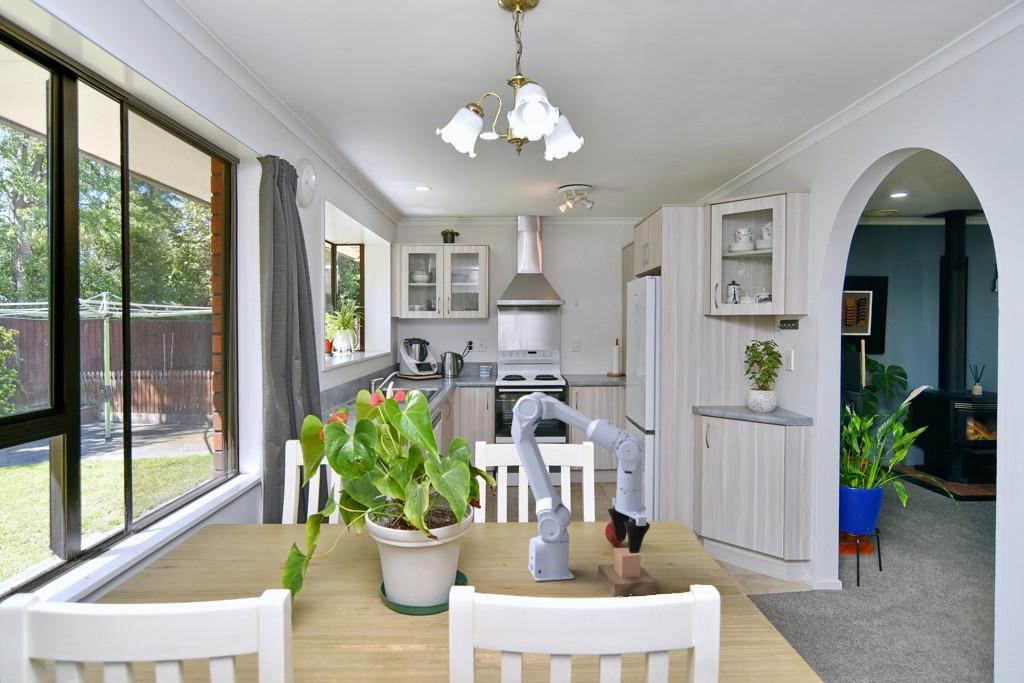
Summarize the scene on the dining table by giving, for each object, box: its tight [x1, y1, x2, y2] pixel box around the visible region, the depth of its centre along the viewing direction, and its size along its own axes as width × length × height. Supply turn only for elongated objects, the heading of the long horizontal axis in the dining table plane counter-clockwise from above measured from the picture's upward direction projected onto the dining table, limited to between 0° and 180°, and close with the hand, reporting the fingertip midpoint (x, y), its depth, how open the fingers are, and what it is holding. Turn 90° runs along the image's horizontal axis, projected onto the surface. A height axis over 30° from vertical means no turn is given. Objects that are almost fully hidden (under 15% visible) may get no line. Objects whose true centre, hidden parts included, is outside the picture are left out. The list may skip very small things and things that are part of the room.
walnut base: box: [597, 563, 657, 598], centre depth 127 cm, size 10×10×3 cm
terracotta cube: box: [613, 547, 642, 578], centre depth 127 cm, size 4×4×5 cm
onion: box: [604, 520, 625, 547], centre depth 151 cm, size 6×6×8 cm
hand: (627, 546), depth 127 cm, fingers open, 7 cm apart
